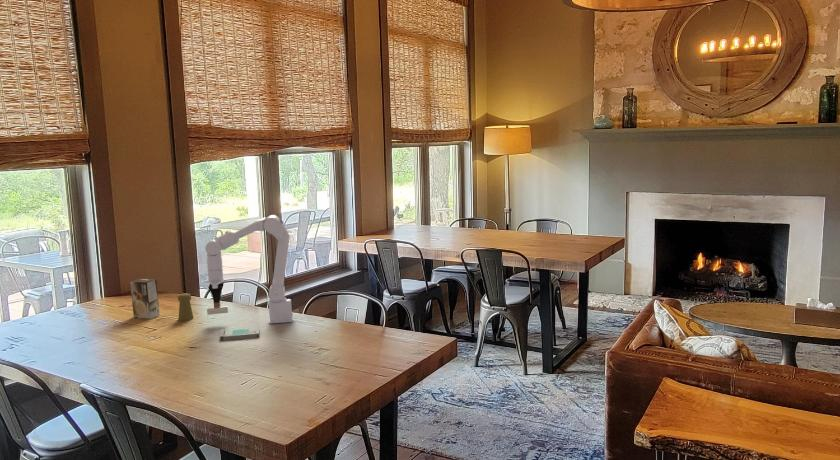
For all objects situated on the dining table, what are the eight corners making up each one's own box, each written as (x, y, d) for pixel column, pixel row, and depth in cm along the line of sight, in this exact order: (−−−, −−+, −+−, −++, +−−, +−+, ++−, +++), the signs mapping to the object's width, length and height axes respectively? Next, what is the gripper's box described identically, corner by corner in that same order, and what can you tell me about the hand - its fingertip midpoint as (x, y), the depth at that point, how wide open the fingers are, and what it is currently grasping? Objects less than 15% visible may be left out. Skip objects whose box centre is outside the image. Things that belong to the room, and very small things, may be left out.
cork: (190, 320, 266) (188, 295, 265) (176, 321, 266) (174, 295, 265) (195, 316, 272) (193, 291, 271) (181, 316, 272) (179, 292, 271)
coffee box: (160, 315, 276) (157, 279, 273) (150, 319, 270) (147, 282, 267) (143, 313, 278) (140, 277, 276) (132, 317, 272) (129, 281, 270)
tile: (248, 332, 251) (248, 329, 251) (248, 337, 246) (248, 333, 245) (233, 334, 250) (232, 330, 250) (232, 338, 244) (232, 335, 244)
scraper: (228, 311, 263) (226, 292, 261) (227, 312, 260) (226, 294, 259) (207, 313, 261) (206, 294, 259) (207, 314, 258) (205, 295, 257)
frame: (259, 329, 254) (259, 325, 253) (259, 337, 244) (259, 333, 244) (221, 332, 250) (221, 328, 250) (220, 340, 240) (220, 336, 240)
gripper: (206, 266, 264) (208, 297, 266) (203, 273, 250) (205, 307, 252) (223, 265, 265) (225, 296, 267) (222, 272, 251) (224, 305, 253)
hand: (217, 301), depth 260 cm, fingers closed on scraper, 2 cm apart
